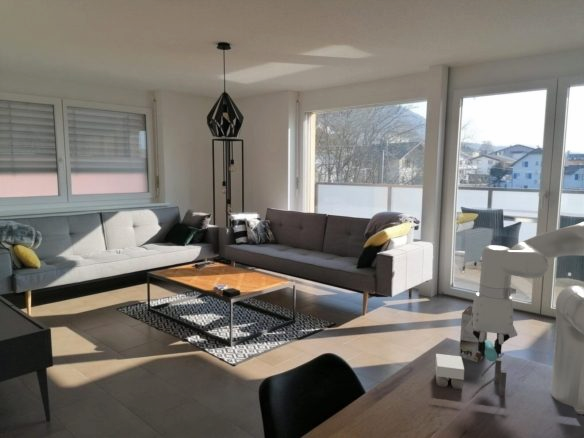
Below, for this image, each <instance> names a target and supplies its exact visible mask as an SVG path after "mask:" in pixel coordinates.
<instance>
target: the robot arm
mask: <svg viewBox="0 0 584 438" xmlns="http://www.w3.org/2000/svg"><path fill="white" fill-rule="evenodd" d="M564 256H565V257H566V256H581V257H582V256H583V257H584V221H581V222H579V223H577V224H573V225H569V226H565V227H561V228H558V229H554V230H550V231H547V232H543V233H540V234H537V235H535V236H533V237H530V238H528V239H525V240H522V241H520V242H518V243H516V244H515V245H513V246H512V247H511V248H510V247H508V246H504V245H499V244H498V245H495V244H491V245H486V246H484V248H482V253H481V263H480V264H481V265H480V275H479V291H478V292H476V293H475V295H474V298H473V302H472V307H473V308H472V315H471V320H470V321H469V323H468V324H467V326H466V330H467V331H468V332H470V333H472V334H474V336H475V337H476V338H477V339H478V340H479V342H478V351H479V352H480V353H481V356H483V357H485V353H484V352H485V341H484V336H485V332H487V333H493V334H496V339H495V340H494V344H493V346H494V348H495V350H496V353H497V355H498V358H499V359H500V357H499V355H501V354H502V347H503V344H504V343H505V342H507V341H508V340H509V339H512V338H515V337H517V336H518V335H519V334H518V332H517V330H516V328H515V326H514V305H513V304H514V303H513V297H512V296H511V295H513V294H517V289H516V288H513V287H511V283H512V276H514V277H520V278H524V279H529V280H531V279H532V280H534V279H540V278H542V277H544V276H545V275H546V274H547V272H548V271H549V260H552V259H555V258H559V257H564ZM555 326H556V327H555V340H554V347H553V348H554V351H553V358H552V372H551V383H550V391H549V394H550V395H551V397H553V398H554V399H555V400H556V401H557V402H560V403H561V404H565V405H567V406H571V407H573V409H574V410H575V412H576V413H577V414H578V415H584V285H583V286H582V285H578V284H577V285H569V286H567V287H565V288H563V289H562V290H561V291H560V292H559V293H558V295H557V297H556V301H555Z"/></svg>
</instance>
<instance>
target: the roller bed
mask: <svg viewBox="0 0 584 438" xmlns="http://www.w3.org/2000/svg"><path fill="white" fill-rule="evenodd" d="M494 363H495V365H494V377H493V378H494V380H493V381H494V383H495V384H498V385H499V389H498V395H499V396H500V397H505V396H506V385H507V371H506V370H505V369H502V359H501V358H500V357H499V358H497V359H496V360H495V362H494ZM434 369H435V370H434V371H435V380H436V386H438V387H441V388H442V387H444V388H447V386H448V383H449V382H448V378H447V377H439V376H437V373H436V368H434ZM450 383H451V386H452V389H457V390H461V389H463V386H464V382H463V380H462V379H454V378H450Z"/></svg>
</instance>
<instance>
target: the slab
mask: <svg viewBox="0 0 584 438" xmlns="http://www.w3.org/2000/svg"><path fill="white" fill-rule="evenodd" d="M434 363H435V369H436V373H437V376H439V377H447V379H451V378H454V379H462V381H463V380H465V366H464V362H463V358H461V356H459V355H453V354H441V353H435V362H434ZM436 373H435V374H436Z"/></svg>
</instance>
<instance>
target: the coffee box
mask: <svg viewBox="0 0 584 438" xmlns="http://www.w3.org/2000/svg"><path fill="white" fill-rule="evenodd" d="M472 308H473V305H472V306H471V305H469V306H468V307H466V309H464V311H463V312H462V313H461V325H460V336H459V337H460V340H459V353H458V354H459V355H458V356H461V358H462V359H464V360H469V361H472V362H476V363H480V362H481V361H482V359H483V357H484V356H481V353H480V352H479V351H478V342H479V340H478V339H477V338H476V337H475V336H474V334H472V333H470V332H468V331H467V330H466V326H467V324H468V323H469V321H470V320H471V315H472ZM485 340H488V332H485V336H484V341H485Z"/></svg>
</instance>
